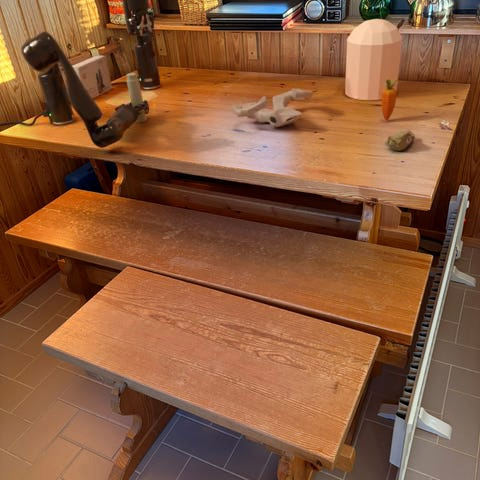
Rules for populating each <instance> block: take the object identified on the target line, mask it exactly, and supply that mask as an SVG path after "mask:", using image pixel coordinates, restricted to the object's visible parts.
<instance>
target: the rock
mask: <svg viewBox="0 0 480 480" xmlns="http://www.w3.org/2000/svg"><path fill="white" fill-rule="evenodd" d="M415 139H416V135H415V134H414V132H412V131H411V130H408V129H407V130H404V131H398V132H396V133H394V134H393V135H392V134H391V135H389V136H388V137H387V143H388V145H387V146H388V147H389V149H391V150H392V151H395V152H404V151H406V150H407V148H409V145H410V144H411V143H412V142H413V141H414V140H415Z"/></svg>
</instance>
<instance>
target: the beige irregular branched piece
mask: <svg viewBox="0 0 480 480" xmlns="http://www.w3.org/2000/svg"><path fill="white" fill-rule="evenodd" d="M313 93H314V92H313V91H312V90H307V89H302V88H292V89H291V90H289V91H286V92H283V93H281V94H277V95H275V96H272V102H271V103H272V107H273V109H272V110H271V109H266V108H265V107H267V106H268V98H267V96H266V95H264V96H262V97H261V98H260V99H259V100H258V101H257V102H256V101H251V102H246V103H240V104H234V105H232V106H231V107H232V108H231V109H232V112H233V113H234V115H235V116H237V118H244V117H246V118H248V119H252V120H257V122H259V123H269V124H270V126H272V127H274V128H280V127H284V126H287V125H290V124H294V123H296V121H298V120H301V119H302V112H301V111H300V110H297V109H295V108H294V107H291V106H288V105H289V103H290V102H292V101H299V100H308V101H310V100H311V99H312V97H313Z"/></svg>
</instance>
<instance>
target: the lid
mask: <svg viewBox="0 0 480 480" xmlns="http://www.w3.org/2000/svg"><path fill="white" fill-rule="evenodd" d="M142 36H143V40H144V43H147V42H151V41H152V39H153V38H152V39H151V34H142Z"/></svg>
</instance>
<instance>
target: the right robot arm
mask: <svg viewBox="0 0 480 480" xmlns="http://www.w3.org/2000/svg"><path fill="white" fill-rule="evenodd" d="M121 2H122V8H123V15H124V21H125V27H126V30H127V33H128V35H129V36H131V37H135V36H136V40H137V42H136V43H135V44H134V45H133V50H134V54H135V59H136V64H137V67H136V71H137V72H136V73H137V78H138V80H139V85H140V89H142V90H145V91H151V90H152V91H153V90H157V89H159V88H161V87H162V84H161V78H160V73H159V72H160V71H159V67H158V66H159V65H158V62H157V61H158V60H157V55H156V50H155V45H154V39H153V34H152V32H153V30H154V29H155V18H154V17H155V16H154V11H149V10H148V9H149V8H150V4H149V0H121ZM142 34H151V39H152V41H151V42H147V43H144V40H143V36H142ZM111 85H112V86H115V85H127V81H118V82H111Z"/></svg>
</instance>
